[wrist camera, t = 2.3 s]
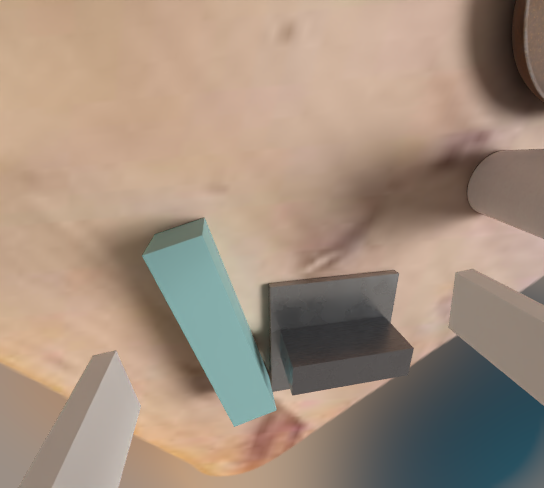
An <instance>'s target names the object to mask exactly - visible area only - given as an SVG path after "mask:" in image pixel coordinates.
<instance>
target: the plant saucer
mask: <svg viewBox="0 0 544 488" xmlns="http://www.w3.org/2000/svg"><path fill="white" fill-rule="evenodd" d="M512 46H513V54H514V58H515V62H516V66H517V68H518V71H519V73H520V75H521V77H522V79H523V81H524V82H525V84H526V85H527V87H528V88H529V89H530V90H531V91H532V92H533V94H534V95H535V96H536V97H538V98H539V99H540V100H541V101H542V102H544V0H516V3H515V8H514V14H513V24H512Z"/></svg>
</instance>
